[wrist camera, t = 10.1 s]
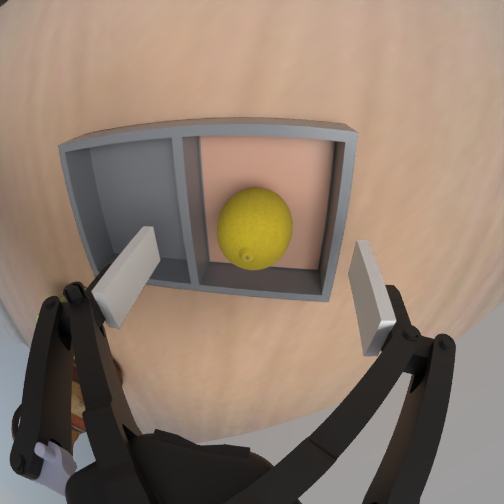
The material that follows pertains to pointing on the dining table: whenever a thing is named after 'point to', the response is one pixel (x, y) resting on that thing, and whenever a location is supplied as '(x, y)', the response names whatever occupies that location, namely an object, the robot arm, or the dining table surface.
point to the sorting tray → (214, 197)
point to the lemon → (254, 228)
